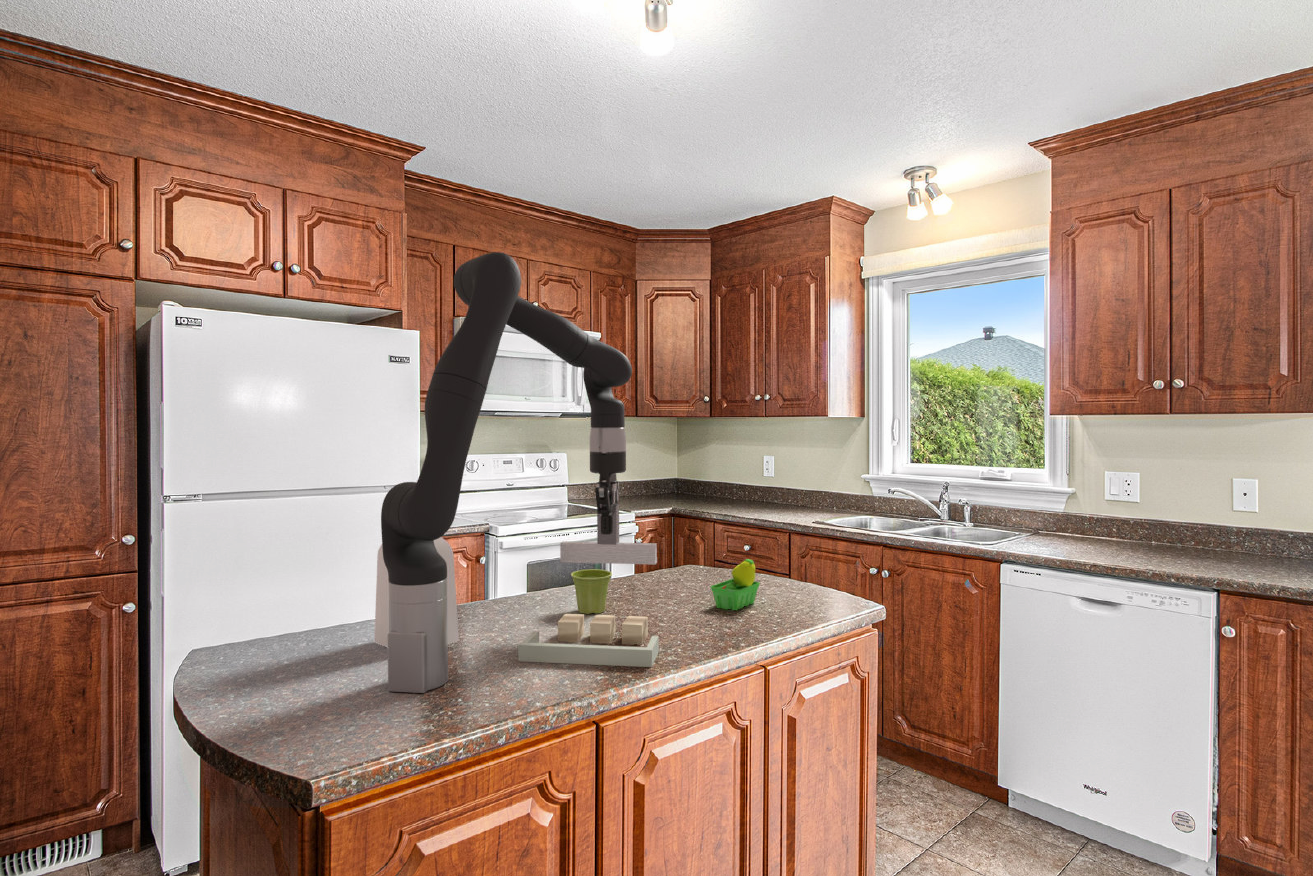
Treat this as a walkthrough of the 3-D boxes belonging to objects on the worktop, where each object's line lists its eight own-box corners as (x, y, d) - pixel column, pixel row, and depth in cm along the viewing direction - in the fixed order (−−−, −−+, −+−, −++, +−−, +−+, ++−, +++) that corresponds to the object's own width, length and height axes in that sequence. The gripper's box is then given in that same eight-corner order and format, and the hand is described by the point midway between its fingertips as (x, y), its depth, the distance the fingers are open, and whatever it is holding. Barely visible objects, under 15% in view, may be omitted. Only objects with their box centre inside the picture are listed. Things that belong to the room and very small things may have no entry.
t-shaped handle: (655, 565, 145) (654, 506, 145) (559, 562, 148) (559, 505, 148) (657, 562, 148) (656, 504, 148) (563, 560, 151) (563, 503, 151)
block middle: (610, 644, 139) (610, 623, 139) (590, 643, 140) (590, 623, 139) (615, 635, 145) (615, 615, 145) (596, 634, 146) (595, 615, 145)
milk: (459, 641, 141) (457, 510, 140) (404, 655, 132) (402, 516, 132) (427, 630, 149) (426, 505, 148) (374, 642, 140) (372, 510, 140)
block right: (642, 645, 138) (641, 625, 138) (621, 644, 139) (621, 624, 139) (647, 636, 144) (647, 616, 144) (628, 635, 145) (628, 616, 145)
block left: (578, 642, 140) (577, 622, 140) (558, 642, 140) (557, 622, 140) (584, 633, 146) (584, 614, 146) (565, 633, 146) (565, 614, 146)
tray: (652, 667, 125) (652, 650, 125) (518, 661, 129) (518, 644, 129) (658, 651, 134) (658, 636, 134) (533, 646, 137) (533, 631, 137)
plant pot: (620, 609, 165) (620, 572, 164) (595, 619, 157) (595, 579, 156) (588, 604, 170) (588, 567, 169) (562, 613, 162) (562, 575, 161)
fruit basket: (733, 598, 175) (733, 552, 174) (765, 603, 169) (765, 556, 169) (708, 608, 165) (708, 560, 165) (742, 614, 160) (742, 564, 160)
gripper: (597, 448, 155) (598, 527, 155) (581, 450, 141) (582, 537, 141) (631, 448, 154) (631, 528, 154) (619, 451, 140) (619, 538, 140)
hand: (608, 532), depth 148 cm, fingers closed on t-shaped handle, 3 cm apart
